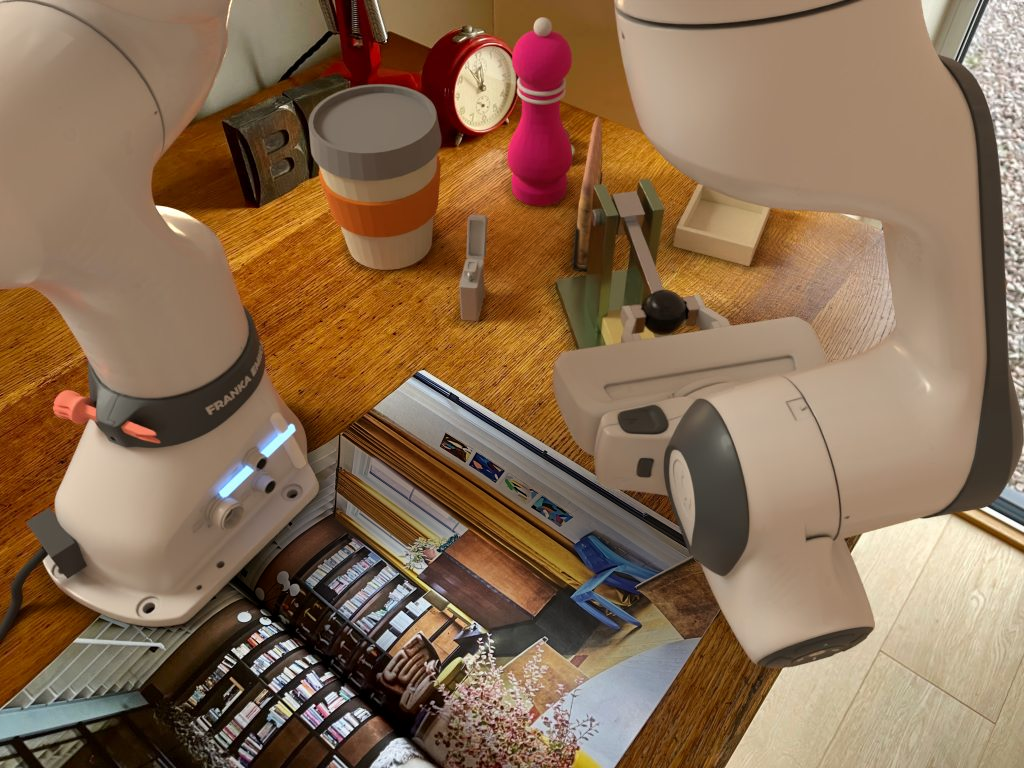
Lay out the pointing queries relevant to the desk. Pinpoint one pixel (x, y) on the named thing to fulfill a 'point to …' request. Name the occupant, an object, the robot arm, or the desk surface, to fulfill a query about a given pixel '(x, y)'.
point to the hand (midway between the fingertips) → (658, 306)
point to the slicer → (608, 268)
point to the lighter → (473, 268)
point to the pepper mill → (540, 117)
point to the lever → (648, 269)
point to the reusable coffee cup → (379, 170)
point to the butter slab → (617, 328)
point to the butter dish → (721, 226)
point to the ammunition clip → (588, 197)
